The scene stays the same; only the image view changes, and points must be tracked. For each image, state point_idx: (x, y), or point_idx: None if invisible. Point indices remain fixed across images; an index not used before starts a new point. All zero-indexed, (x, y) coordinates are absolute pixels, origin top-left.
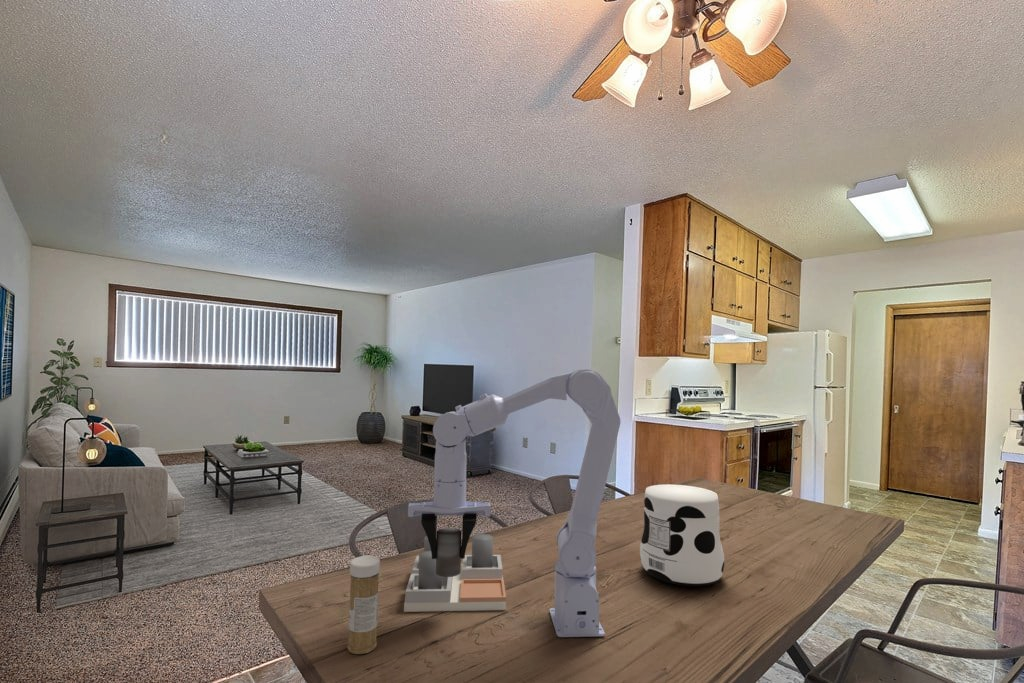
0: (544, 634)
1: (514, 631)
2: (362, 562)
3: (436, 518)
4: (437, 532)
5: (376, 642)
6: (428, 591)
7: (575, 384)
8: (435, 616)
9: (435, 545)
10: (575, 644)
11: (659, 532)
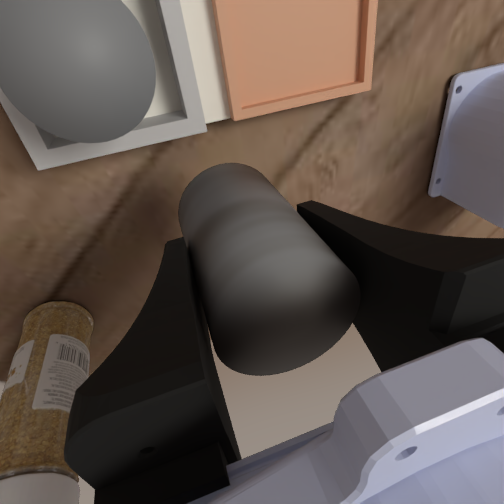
0: (407, 185)
1: (356, 187)
2: None
3: (216, 395)
4: (223, 355)
5: (89, 319)
6: (127, 148)
7: None
8: (163, 158)
9: (206, 324)
10: (445, 205)
11: None
